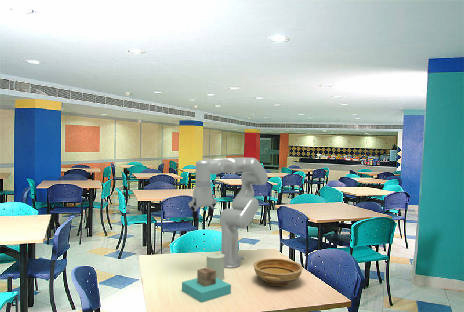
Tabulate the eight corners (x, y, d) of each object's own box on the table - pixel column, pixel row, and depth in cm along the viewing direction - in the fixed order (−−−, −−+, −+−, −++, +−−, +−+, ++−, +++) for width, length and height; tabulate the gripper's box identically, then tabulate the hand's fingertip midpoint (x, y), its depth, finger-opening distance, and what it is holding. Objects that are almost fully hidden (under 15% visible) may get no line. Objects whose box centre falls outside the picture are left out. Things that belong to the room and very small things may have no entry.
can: (226, 276, 187) (227, 253, 186) (220, 282, 178) (220, 258, 178) (210, 273, 190) (210, 251, 189) (203, 279, 181) (203, 255, 181)
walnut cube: (207, 279, 170) (208, 267, 170) (215, 283, 165) (215, 270, 165) (197, 282, 166) (197, 269, 166) (204, 286, 161) (205, 273, 161)
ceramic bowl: (261, 269, 198) (261, 254, 198) (306, 275, 190) (306, 260, 190) (245, 288, 170) (245, 271, 170) (297, 296, 162) (297, 279, 162)
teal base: (210, 282, 177) (210, 274, 177) (230, 293, 165) (231, 284, 164) (181, 290, 167) (182, 281, 167) (201, 302, 154) (201, 293, 154)
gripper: (212, 182, 195) (211, 214, 195) (184, 185, 184) (184, 218, 184) (220, 184, 189) (220, 216, 190) (193, 186, 178) (193, 221, 179)
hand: (202, 217), depth 187 cm, fingers open, 9 cm apart
